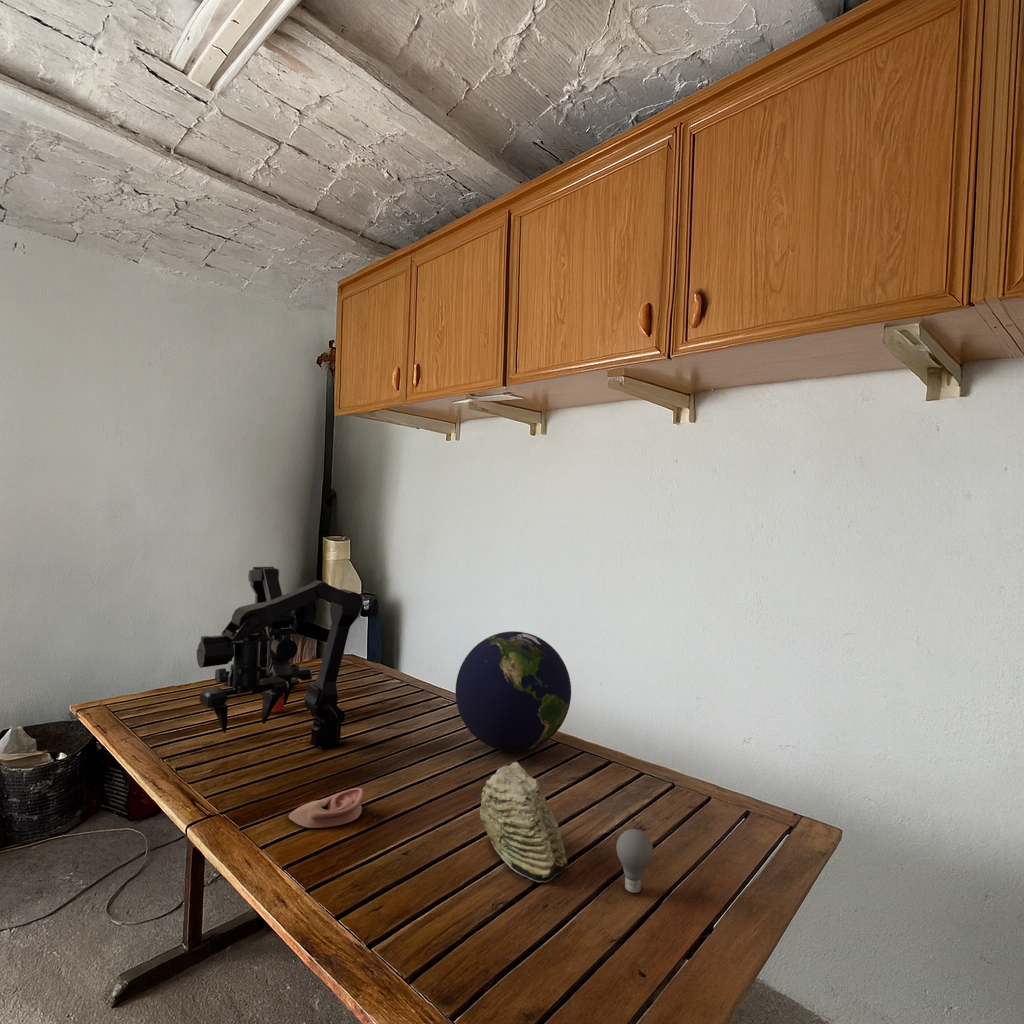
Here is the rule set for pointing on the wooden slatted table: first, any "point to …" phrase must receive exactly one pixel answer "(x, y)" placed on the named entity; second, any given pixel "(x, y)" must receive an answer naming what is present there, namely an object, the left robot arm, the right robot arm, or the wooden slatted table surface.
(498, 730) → the globe
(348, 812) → the anatomical model
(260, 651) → the left robot arm
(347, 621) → the right robot arm
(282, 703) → the canister
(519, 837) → the fossil
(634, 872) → the light bulb
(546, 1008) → the wooden slatted table surface
